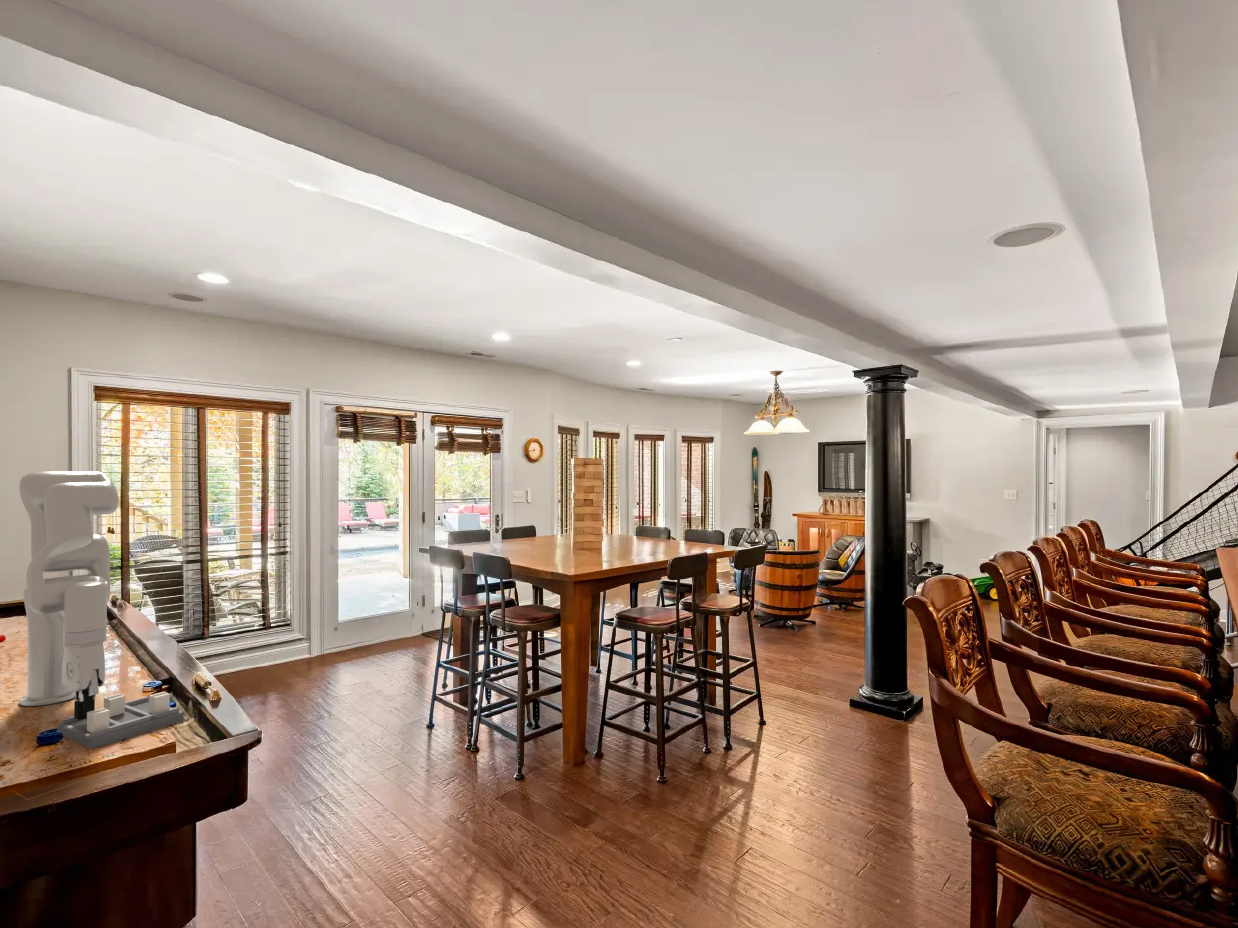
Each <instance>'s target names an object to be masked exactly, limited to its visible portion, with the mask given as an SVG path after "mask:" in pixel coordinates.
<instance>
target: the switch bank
mask: <svg viewBox="0 0 1238 928" xmlns="http://www.w3.org/2000/svg"><path fill="white" fill-rule="evenodd" d="M184 715H185V714H184V711H182V710H180V707H178V706H175V707H171V706H170V709H168V710H165V711H161V712H158V713H154V714H152V713H149V696H143V697H139V698H136V699H132V700H129V701H125V713H123V714H119V715H115V716H112V717H110V720H109V727H107V728H103V729H100V730H96V731H93V732H89V731H87V718H84V719H81V720H77V719H75V718H74V715H73V716H70V717H65V718H62V719H61V722H60V723H58V724H57V732H58V731H60V732H61V733H62V734H63V735H62V736H63V737H65V738H68V740H71V741H73V742H75V743H77V744H79V745H81V746H83V747H86V748H88V749H90V750H93V749H96V748H99V747H103V746H105V745H108V744H112V743H115V742H119V741H122V740H125V739H128V738H131V737H134V736H138V735H141V734H144V733H147V732H150V731H154V730H157V729H161V728H164V727H166V726H171V725H172V724H176V723H179V722H182V721H184Z"/></svg>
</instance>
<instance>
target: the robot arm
mask: <svg viewBox="0 0 1238 928" xmlns="http://www.w3.org/2000/svg"><path fill="white" fill-rule="evenodd" d="M18 488H19V489H18V490H19V495H20V496H19V497H20V499H21V502H22V504H23V507H24V509H25V510H26V513H27V514H28V517H29V520H30V555H31V557H30V559H31V560H30V562H29V563H28V566H27V569H26V575H25V576H26V577H25V580H26V581H25V582H26V587H25V588H24V591H23V603H24V608H25V612H26V613H25V614H26V619H27V620H26V621H27V694H24V695H22V696H21V697H20V698H19V700H18V701H19V702H18V703H19V704H20V705H21V706H24V707H25V706H26V707H36V706H45V705H46V706H47V705H51V704H57V703H61V702H65V701H69V700H71V699H73V700H74V702H73V704H74V708H73V709H74V711H73V713H74V714H73V716H74V718H75V719H77V720H81V719H84V718H87V712H90V711H94V710H96V708H95V707H96V706H95V705H96V698H97V697H96V695H99V693H100V692H99V688H100V687H102V686H103V685H104V684H105V681H106V680H105V679H106V660H105V659H106V657H105V647H104V642H107V640H108V639H107V631H108V629H107V627H108V626H107V624H108V623H107V619H108V618H107V616H108V615H107V614H108V607H107V606H108V602H109V601H110V597H111V555H110V554H111V553H110V545H109V542H108V540H107V539H106V537H105V536H103V535H101V534H96V533H94V530H93V528H94V527H93V524H92V523H93V522H92V516H96V515H98V516H99V515H101V516H103V515H111V514H114V513H115V512H116V511H117V509H118V506H119V501H120V500H119V495H118V491H117V488H116V486H115V484H114V482H113V481H112V480H111V479H110V478H109V477H108V475H107V474H106V473H105V472H102V471H101V472H100V471H87V470H86V471H84V470H83V471H81V470H80V471H74V470H73V471H67V470H58V471H55V470H53V471H51V470H50V471H47V470H46V471H36V472H35V471H34V472H30V473H27V474H25V475H23V476H22V477H21V479H20V480H19V487H18ZM74 571H87V574H78V575H66V576H65V575H64V576H58V577H57V576H56V577H47V578H44V574H45V573H47V574H48V573H61V572H74Z"/></svg>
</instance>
